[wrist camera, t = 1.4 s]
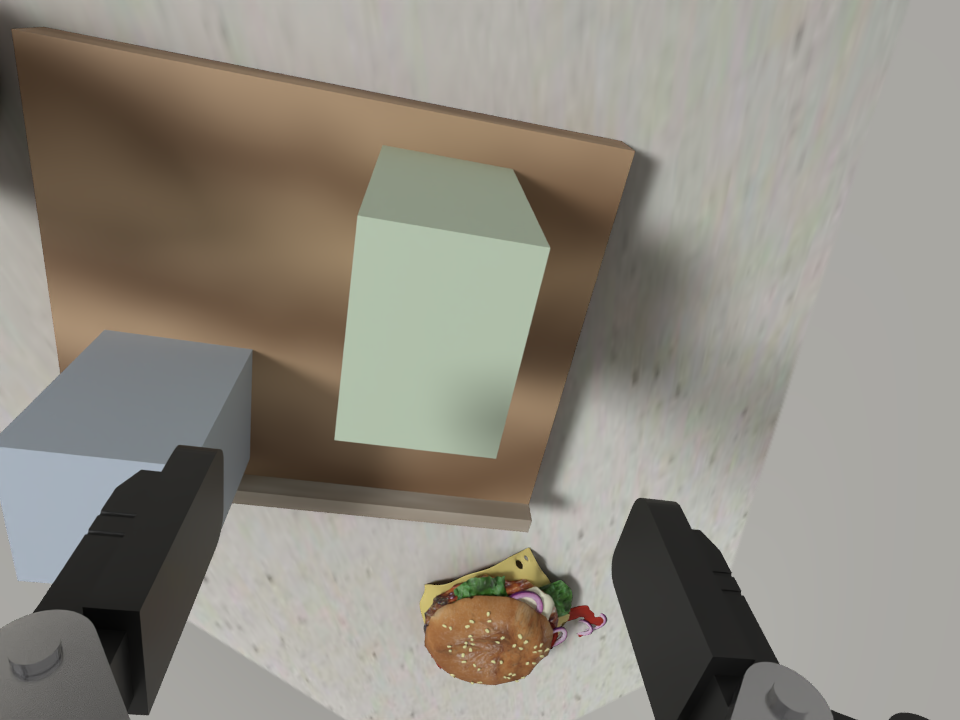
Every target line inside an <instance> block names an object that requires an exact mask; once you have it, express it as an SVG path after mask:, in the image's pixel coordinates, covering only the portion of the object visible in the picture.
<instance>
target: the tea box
mask: <svg viewBox="0 0 960 720" xmlns="http://www.w3.org/2000/svg"><path fill="white" fill-rule="evenodd" d="M549 251H550V246H549V244H548V242H547V240H546V238H545V236H544V233H543V231H542V229H541V227H540V225H539V223H538V221H537V219H536V217H535V215H534V212H533V210H532V208H531V206H530V204H529V202H528V200H527V198H526V196H525V194H524V191H523V189H522V187H521V185H520V183H519V181H518V179H517V177H516V175H515V173H514V170H513V169H509V168H504V167H499V166H493V165H488V164H482V163H477V162H472V161H466V160H461V159H456V158H450V157H445V156H439V155H434V154H429V153H423V152H418V151H413V150H407V149H402V148H396V147H391V146H386V145H382V148H381V151H380V154H379V157H378V159H377V162H376V165H375V168H374V171H373V173H372V176H371V179H370V182H369V185H368V187H367V190H366V193H365V196H364V199H363V201H362V204H361V207H360V210H359V213H358V216H357V225H356V235H355V245H354V254H353V264H352V274H351V284H350V293H349V303H348V313H347V322H346V332H345V342H344V351H343V361H342V371H341V381H340V390H339V400H338V410H337V419H336V429H335V439H334V440H338V441H346V442H355V443H364V444H372V445H381V446H390V447H398V448H407V449H415V450H424V451H433V452H441V453H450V454H459V455H467V456H476V457H485V458H493V459H496V457H497V453H498V449H499V445H500V442H501V438H502V434H503V430H504V426H505V422H506V418H507V414H508V410H509V407H510V403H511V399H512V395H513V391H514V387H515V383H516V379H517V376H518V372H519V368H520V364H521V360H522V356H523V352H524V348H525V345H526V341H527V337H528V333H529V329H530V325H531V321H532V317H533V314H534V310H535V306H536V302H537V298H538V294H539V290H540V286H541V282H542V279H543V275H544V271H545V267H546V263H547V259H548V255H549Z"/></svg>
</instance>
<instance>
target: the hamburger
mask: <svg viewBox="0 0 960 720" xmlns="http://www.w3.org/2000/svg"><path fill="white" fill-rule="evenodd" d="M524 556H527V557H528V561H527V560H525V558H524ZM516 560H519V561H521V563H522V564H523V569H519V568H518V567H517V566H516ZM572 598H573V597H572V591H571V589H570V588H569V587H568V585H566V584H565V583H564V582H563V581H562V580H559V581H556V582H554V583H551V582H550V581H549V579H548V578H547V576H546V575H545V574H544V573H543V571H542V570H541V569H540V567H539V565H538V563H537V562H536V560H535V558H534V556H533V554H532V552H531V550H530V548H527V549H525V550H523V551H521V552H519V553H517V554H515V555H513V556H511V557H509V558H507V559H506V560H504V561H502V562H500V563H499V564H497V565H495V566H493V567H491V568H489V569H486V570H483V571H479V572H475V573H471V574H468V575H465V576H463V577H461V578H458V579H456V580H455V581H453V582H451V583H448V584H444V585H431V584H427V585H425V591H424V594H423V596H422V599H421V601H420V610H421V614H422V617H423V620H424V624H425V625H424V632H425V647H426V648H427V649H428V651H429V653H430V654H431V656H432V657H433V658H434V660H435V662H436V664H437V665H438V667H439V668H440V669H441V668H442V669H444V670H445V671H446V672H447V673H449V674H450V676H453V677H454V678H455V677H456V678H459V679H461V680H464V681H467V682H471V684H474V683H478V684H486V685H498V684H502V683H506V682H511V681H516V682H519V681H518V680H519V679H523V678H525V677H526V676H527V675H529V674H530V672H531V671H532V670H533V668H534V667H535V666H536V665H537V664H538V663H539V661H540V660H542V659H543V658H544V657H546V656H547V655H548V653H549V651H550V649H552V648H553V647H554V646H556V645H558V644H560V643H562V642H563V641H564V640H565V639H566V637H567V631H566V629H565V628H564V627H562V626H563V625H564V624H565V623H566V622H567V621H570V620H573V619H577V618H578V617H584V620H579V622H581V623H585V624H586V625H587V626H588V627H589V629H586V630H588V631H585V632H579V633H577V634H578V635H579V637H581V636H583V635H589V634H591V633H592V632H593V630H596V629H599V628H601V627H602V626H604V625H605V623H606V621H607V619H606V616H605V615H604V614H602V613H601V615H600V616H601V617H595V616H594V613H593V612H592V611H591V610H590V609H589V607H588V606H578V607H574V608H571V602H572ZM570 608H571V609H570ZM568 618H569V619H568ZM561 624H562V626H561V627H560V625H561ZM591 624H594V625H596V626H595V627H592V626H591ZM560 632H562V636H561V637H560V638H559V639H557V637H558V635H559V633H560ZM556 639H557V640H556Z"/></svg>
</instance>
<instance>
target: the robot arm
mask: <svg viewBox="0 0 960 720" xmlns="http://www.w3.org/2000/svg"><path fill="white" fill-rule="evenodd" d="M223 511H224V455H223V451H222V450H221V449H214V448H206V447H197V446H188V445H178V446H177V447H176V448H175V449H174V451H173V452H172V454H171V456H170V458H169V459H168V461H167V463H166V464H165V466H164V468H163V470H162V471H161V472H160V471H151V470H140V471H138V472H137V473H136V474H134V475H133V476H132V477H130V478H129V479H127V480H126V481H125V482H123V483H122V484H120V485H119V486H118V487H116V488H115V490H114V491H113V493H112V494H111V496H110V497H109V499H108V500H107V502H106V503H105V505H104V506H103V508H102V510H101V513H100V515H98V516H97V517H96V519H95V520H94V522H93V523H92V525H91V526H90V528H89V529H88V534H85V535H84V537H83V538H82V540H81V541H80V543H79V544H78V546H77V547H76V549H75V550H74V552H73V554H72V555H71V557H70V558H69V560H68V561H67V563H66V564H65V566H64V567H63V569H62V570H61V572H60V573H59V575H58V576H57V578H56V579H55V581H54V582H53V584H52V585H51V587H50V588H49V590H48V591H47V593H46V595H45V596H44V598H43V599H42V601H41V602H40V604H39V605H38V607H37V608H36V609H35V611H34V612H33V613H32V614H29V615H26V616H24V617H21V618H19V619H16V620H14V621H12V622H11V623H9V624H7V625H5V626H4V627H2V628H1V629H0V720H130V718H129V715H128V714H135V715H149V713H150V711H151V708H152V706H153V703H154V701H155V698H156V696H157V693H158V691H159V688H160V686H161V683H162V681H163V678H164V676H165V673H166V671H167V668H168V666H169V663H170V661H171V658H172V656H173V653H174V651H175V648H176V646H177V644H178V641H179V638H180V636H181V634H182V631H183V628H184V626H185V624H186V621H187V619H188V616H189V614H190V611H191V609H192V606H193V604H194V601H195V599H196V596H197V594H198V591H199V589H200V586H201V584H202V581H203V579H204V576H205V574H206V571H207V569H208V566H209V564H210V561H211V559H212V556H213V554H214V551H215V549H216V546H217V543H218V540H219V537H220V532H221V528H222V522H223ZM612 580H613V584H614V588H615V591H616V594H617V598H618V601H619V604H620V607H621V610H622V614H623V617H624V620H625V623H626V627H627V630H628V633H629V636H630V639H631V643H632V646H633V649H634V652H635V656H636V659H637V662H638V665H639V669H640V672H641V675H642V678H643V681H644V685H645V688H646V691H647V694H648V697H649V701H650V704H651V707H652V710H653V714H654V717H655V720H856V719H853V718H851V717H848V716H845V715H843V714H840V713H837V712H835V711H833V710H830V708H829V706H828V704H827V702H826V701H825V699H824V698H823V696H822V695H821V694H820V693H819V691H818V690H817V689H816V688H815V687H814V686H813V685H812V684H811V683H810V682H809V681H808V680H806V679H805V678H804V677H802V676H801V675H800V674H798V673H797V672H795V671H793V670H791V669H789V668H788V667H785V666H783V665H780V664H779V662H778V660H777V658H776V657H775V655H774V653H773V651H772V649H771V647H770V645H769V643H768V641H767V639H766V637H765V636H764V634H763V632H762V630H761V628H760V626H759V624H758V622H757V620H756V618H755V617H754V615H753V613H752V611H751V609H750V607H749V605H748V603H747V601H746V599H745V597H744V596H741V590H740V588H739V586H738V584H737V582H736V580H735V578H734V577H732V576H731V571H730V569H729V567H728V565H727V563H726V561H725V559H724V557H723V555H722V554H721V552H720V550H719V549H718V548H717V547H716V546H715V545H714V544H713V543H712V542H711V541H710V540H709V539H708V538H707V537H706V536H705V535H704V534H703V533H702V532H701V531H700V530H693V529H691V527H690V525H689V523H688V521H687V519H686V517H685V515H684V513H683V511H682V509H681V507H680V505H679V504H678V503H676V502H673V501H665V500H656V499H647V498H639V499H637V500H636V501H635V503H634V504H633V506H632V509H631V511H630V514H629V516H628V519H627V521H626V524H625V526H624V529H623V531H622V534H621V536H620V539H619V541H618V543H617V546H616V548H615V551H614V554H613V559H612ZM889 720H928V719H927V718H924V717H922V716H919V715H916V714H912V713H898V714H895V715H893V716H892V717H891V718H890V719H889Z"/></svg>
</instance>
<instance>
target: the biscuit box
mask: <svg viewBox="0 0 960 720" xmlns="http://www.w3.org/2000/svg"><path fill="white" fill-rule="evenodd" d="M252 351H253V349H245V348H238V347H230V346H223V345H216V344H208V343H201V342H193V341H186V340H178V339H171V338H163V337H156V336H148V335H141V334H133V333H126V332H119V331H111V330H104V331H103V332H102V333H101V334H100V335H99V336H98V337H97V338H96V339H95V340H94V341H93V342H92V343H91V344H90V345H89V346H88V347H87V348H86V349H85V350H84V351H83V352H82V353H81V354H80V355H79V356H78V357H77V358H76V359H75V360H74V361H73V362H72V363H71V364H70V365H69V366H68V367H67V368H66V369H65V370H64V371H63V372H62V373H61V374H60V375H59V376H58V377H57V378H56V379H55V380H54V381H53V382H52V383H51V384H50V385H49V386H48V387H47V388H46V389H45V390H44V391H43V392H42V393H41V394H40V395H39V396H38V397H37V398H36V399H35V400H34V401H33V402H32V403H31V404H30V405H29V406H28V407H27V408H26V409H25V410H24V411H22V412H21V413H20V414H19V415H18V416H17V417H16V418H15V419H14V420H13V421H12V422H11V423H10V424H9V425H8V426H7V427H6V428H5V429H4V430H3V431H2V432H1V433H0V502H1V506H2V511H3V515H4V520H5V525H6V529H7V534H8V538H9V543H10V547H11V552H12V556H13V561H14V566H15V570H16V575H17V579H18V581H29V582H41V583H53V582H54V581H55V579H56V578H57V576H58V575H59V573H60V572H61V570H62V569H63V567H64V566H65V564H66V563H67V561H68V560H69V558H70V557H71V555H72V554H73V552H74V550H75V549H76V547H77V546H78V544H79V543H80V541H81V540H82V538H83V537H84V535H85V534H88V529H89V528H90V526H91V525H92V523H93V522H94V520H95V519H96V517H97V516H98V515H100V513H101V510H102V508H103V506H104V505H105V503H106V502H107V500H108V499H109V497H110V496H111V494H112V493H113V491H114V490H115V488H116V487H118V486H119V485H120V484H122V483H123V482H125V481H126V480H127V479H129V478H130V477H132V476H133V475H134V474H136V473H137V472H138V471H140V470H151V471H160V472H161V471H162V470H163V468H164V466H165V464H166V463H167V461H168V459H169V458H170V456H171V454H172V452H173V451H174V449H175V448H176V447H177V446H178V445H188V446H197V447H206V448H214V449H221V450H222V451H223V455H224V511H223V522H222V526H223V524H224V521H225V519H226V516H227V514H228V511H229V509H230V507H231V504H232V502H233V499H234V497H235V494H236V492H237V489H238V487H239V484H240V482H241V479H242V477H243V474H244V472H245V469H246V467H247V464H248V462H249V459H250V432H251V391H252ZM221 529H222V528H221Z"/></svg>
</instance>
